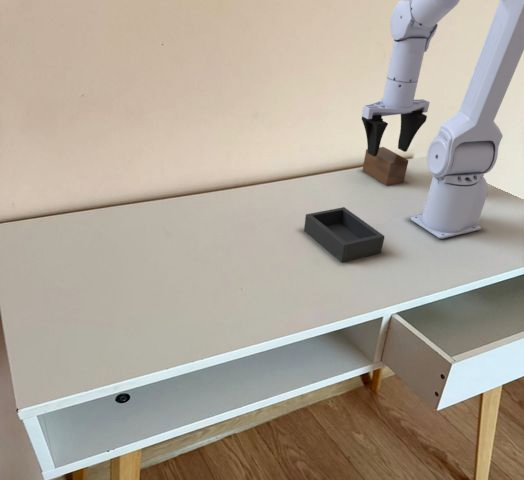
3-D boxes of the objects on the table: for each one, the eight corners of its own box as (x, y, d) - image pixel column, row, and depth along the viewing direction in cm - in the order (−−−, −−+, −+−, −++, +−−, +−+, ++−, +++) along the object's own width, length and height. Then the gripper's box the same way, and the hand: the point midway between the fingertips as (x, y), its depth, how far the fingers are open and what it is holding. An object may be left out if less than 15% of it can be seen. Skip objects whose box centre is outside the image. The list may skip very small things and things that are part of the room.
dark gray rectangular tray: (341, 223, 96) (344, 206, 94) (381, 252, 88) (384, 236, 86) (303, 230, 93) (305, 214, 91) (341, 262, 85) (344, 245, 83)
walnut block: (379, 168, 117) (383, 146, 114) (403, 182, 112) (408, 160, 109) (362, 170, 115) (366, 149, 112) (386, 185, 110) (390, 163, 107)
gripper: (418, 70, 107) (402, 141, 116) (357, 75, 101) (346, 149, 110) (443, 80, 102) (425, 153, 111) (381, 85, 97) (367, 162, 105)
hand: (387, 152), depth 110 cm, fingers open, 7 cm apart
